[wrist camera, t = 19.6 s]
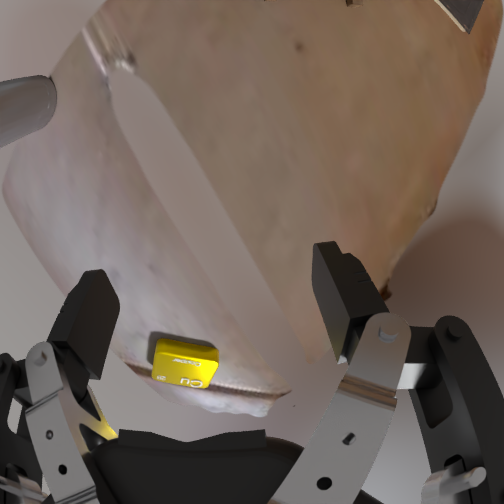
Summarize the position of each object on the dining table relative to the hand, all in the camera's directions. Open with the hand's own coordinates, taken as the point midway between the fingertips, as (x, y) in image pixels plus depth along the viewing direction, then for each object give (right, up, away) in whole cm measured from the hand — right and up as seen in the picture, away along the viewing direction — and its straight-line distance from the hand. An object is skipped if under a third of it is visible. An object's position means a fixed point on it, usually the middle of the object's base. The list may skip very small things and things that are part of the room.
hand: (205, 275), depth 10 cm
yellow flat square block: (-15, -25, +54) cm, 62 cm away
